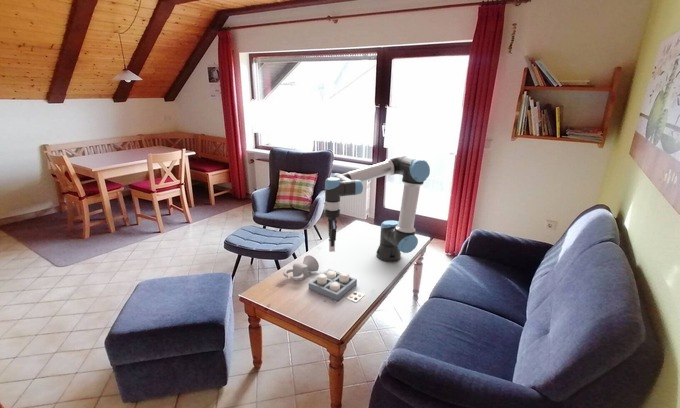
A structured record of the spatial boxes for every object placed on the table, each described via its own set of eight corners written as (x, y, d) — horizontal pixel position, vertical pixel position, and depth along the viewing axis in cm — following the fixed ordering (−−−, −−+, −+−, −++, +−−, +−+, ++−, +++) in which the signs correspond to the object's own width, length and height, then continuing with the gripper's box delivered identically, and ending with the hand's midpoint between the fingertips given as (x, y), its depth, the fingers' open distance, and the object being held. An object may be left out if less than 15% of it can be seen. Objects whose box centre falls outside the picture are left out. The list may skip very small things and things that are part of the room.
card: (354, 291, 176) (354, 290, 175) (364, 295, 172) (364, 294, 172) (346, 298, 169) (346, 297, 169) (356, 302, 166) (356, 301, 166)
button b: (320, 279, 180) (320, 272, 178) (328, 282, 177) (328, 276, 176) (314, 283, 176) (314, 277, 174) (322, 287, 173) (322, 280, 172)
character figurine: (304, 265, 200) (280, 280, 185) (303, 251, 197) (279, 266, 182) (321, 271, 193) (298, 288, 178) (321, 257, 190) (297, 273, 175)
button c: (342, 277, 182) (342, 271, 180) (350, 281, 179) (351, 274, 178) (337, 282, 178) (337, 275, 176) (345, 285, 175) (345, 278, 174)
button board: (329, 275, 190) (329, 268, 189) (356, 285, 181) (356, 279, 179) (308, 289, 176) (308, 282, 175) (337, 301, 166) (337, 294, 165)
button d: (330, 276, 187) (330, 269, 186) (337, 279, 184) (338, 272, 183) (324, 280, 183) (324, 273, 181) (332, 283, 180) (332, 276, 179)
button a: (333, 287, 176) (333, 281, 175) (341, 291, 173) (342, 284, 172) (327, 292, 172) (327, 285, 171) (336, 295, 169) (336, 288, 168)
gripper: (323, 204, 176) (323, 246, 183) (326, 213, 164) (326, 257, 171) (337, 204, 177) (336, 245, 185) (342, 212, 165) (341, 256, 173)
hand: (331, 250), depth 178 cm, fingers closed
